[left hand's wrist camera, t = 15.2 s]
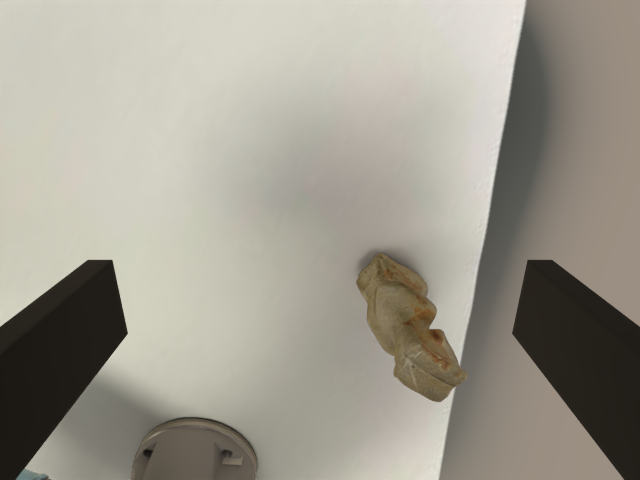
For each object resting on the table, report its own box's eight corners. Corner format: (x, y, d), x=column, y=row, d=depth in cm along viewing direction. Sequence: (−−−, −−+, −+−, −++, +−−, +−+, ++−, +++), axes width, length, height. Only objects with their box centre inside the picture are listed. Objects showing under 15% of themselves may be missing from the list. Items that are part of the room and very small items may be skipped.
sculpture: (394, 314, 43) (429, 424, 29) (344, 275, 42) (356, 373, 28) (432, 277, 42) (489, 375, 28) (383, 235, 40) (416, 318, 26)
